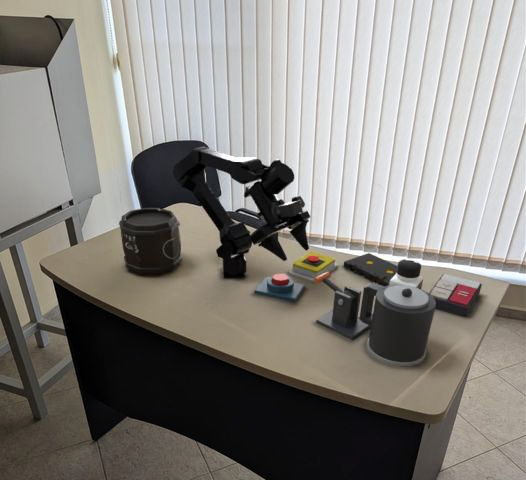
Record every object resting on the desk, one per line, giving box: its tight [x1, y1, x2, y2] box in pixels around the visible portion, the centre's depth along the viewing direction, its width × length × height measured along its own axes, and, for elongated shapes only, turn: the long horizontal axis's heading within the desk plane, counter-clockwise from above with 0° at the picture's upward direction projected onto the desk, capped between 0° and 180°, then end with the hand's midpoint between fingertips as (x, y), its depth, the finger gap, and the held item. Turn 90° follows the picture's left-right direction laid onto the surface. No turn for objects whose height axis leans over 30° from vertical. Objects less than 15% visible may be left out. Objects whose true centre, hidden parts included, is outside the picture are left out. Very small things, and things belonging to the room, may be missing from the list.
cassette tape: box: [343, 252, 398, 287], centre depth 151 cm, size 18×12×2 cm, turn 37°
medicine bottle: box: [389, 258, 424, 289], centre depth 134 cm, size 7×7×12 cm
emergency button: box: [289, 251, 339, 282], centre depth 152 cm, size 9×4×15 cm
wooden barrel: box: [118, 207, 183, 277], centre depth 150 cm, size 18×18×16 cm
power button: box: [272, 272, 289, 285], centre depth 138 cm, size 4×4×2 cm
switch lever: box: [313, 272, 356, 304], centre depth 123 cm, size 11×5×2 cm, turn 46°
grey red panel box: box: [428, 273, 483, 318], centre depth 137 cm, size 11×4×15 cm
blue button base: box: [253, 275, 306, 303], centre depth 139 cm, size 12×9×4 cm
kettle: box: [359, 282, 436, 367], centre depth 114 cm, size 17×14×16 cm
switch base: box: [315, 285, 371, 341], centre depth 123 cm, size 11×9×10 cm
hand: (296, 255), depth 129 cm, fingers open, 9 cm apart
